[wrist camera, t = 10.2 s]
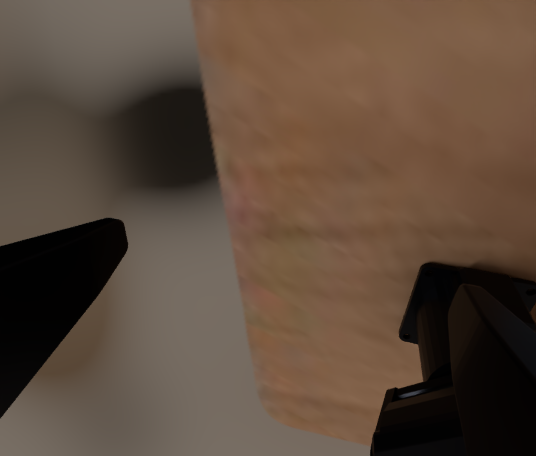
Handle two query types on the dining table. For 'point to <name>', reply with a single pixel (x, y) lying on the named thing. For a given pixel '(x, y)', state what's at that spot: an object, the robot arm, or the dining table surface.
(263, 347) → the dining table surface
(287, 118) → the dining table surface
